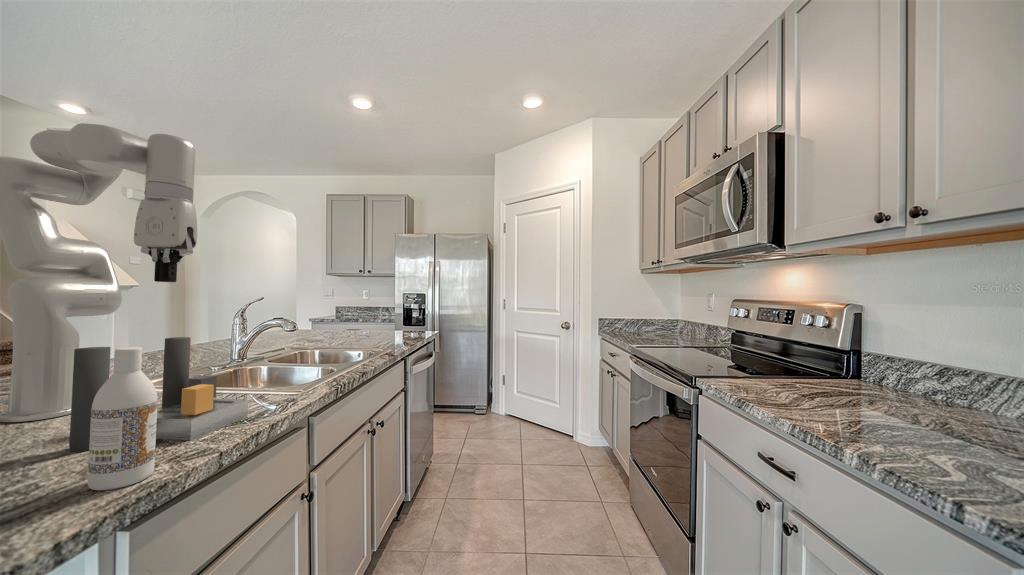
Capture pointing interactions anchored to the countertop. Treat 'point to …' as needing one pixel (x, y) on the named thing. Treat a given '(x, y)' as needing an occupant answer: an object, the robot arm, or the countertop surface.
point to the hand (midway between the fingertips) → (165, 281)
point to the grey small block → (204, 381)
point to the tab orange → (197, 399)
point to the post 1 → (86, 392)
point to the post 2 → (175, 369)
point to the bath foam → (123, 425)
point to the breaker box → (199, 419)
